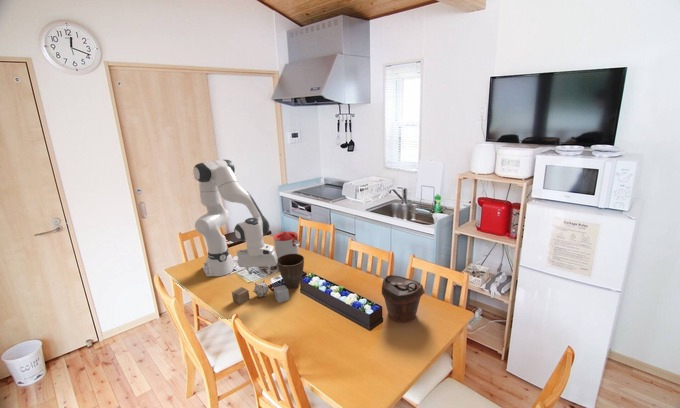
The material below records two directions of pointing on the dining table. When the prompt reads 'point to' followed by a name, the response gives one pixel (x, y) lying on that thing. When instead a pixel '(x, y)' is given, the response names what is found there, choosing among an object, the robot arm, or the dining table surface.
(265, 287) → the grey spiky ball
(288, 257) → the plant pot
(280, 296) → the grey block
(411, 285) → the dark brown lidded bucket
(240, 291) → the walnut block
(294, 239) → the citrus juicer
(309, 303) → the dining table surface
